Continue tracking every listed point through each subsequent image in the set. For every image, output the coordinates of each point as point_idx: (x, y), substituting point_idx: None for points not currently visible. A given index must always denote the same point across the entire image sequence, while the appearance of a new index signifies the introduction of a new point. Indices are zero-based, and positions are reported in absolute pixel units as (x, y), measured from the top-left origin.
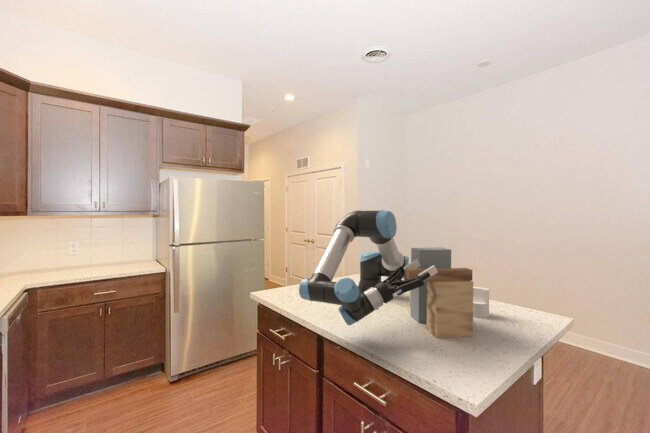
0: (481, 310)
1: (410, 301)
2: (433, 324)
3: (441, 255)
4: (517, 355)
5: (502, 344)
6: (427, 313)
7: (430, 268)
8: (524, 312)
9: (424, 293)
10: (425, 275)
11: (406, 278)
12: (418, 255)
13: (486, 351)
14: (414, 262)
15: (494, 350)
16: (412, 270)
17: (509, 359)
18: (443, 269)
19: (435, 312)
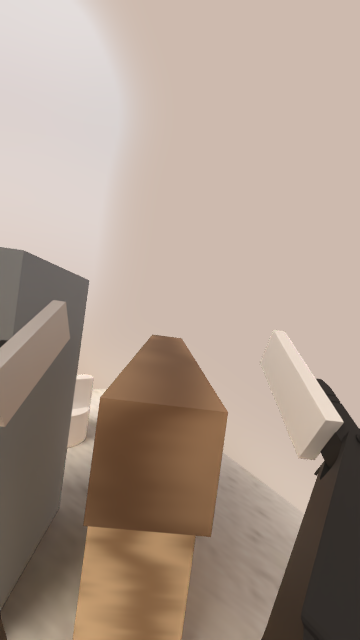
0: (84, 425)
1: None
2: (148, 622)
3: (73, 295)
4: (271, 501)
5: (220, 491)
6: (88, 584)
7: (294, 350)
8: (96, 397)
9: (13, 476)
10: (340, 406)
11: (152, 502)
12: (8, 281)
13: (269, 548)
14: (53, 320)
15: (257, 526)
16: (189, 389)
17: (299, 527)
18: (168, 346)
19: (175, 559)
